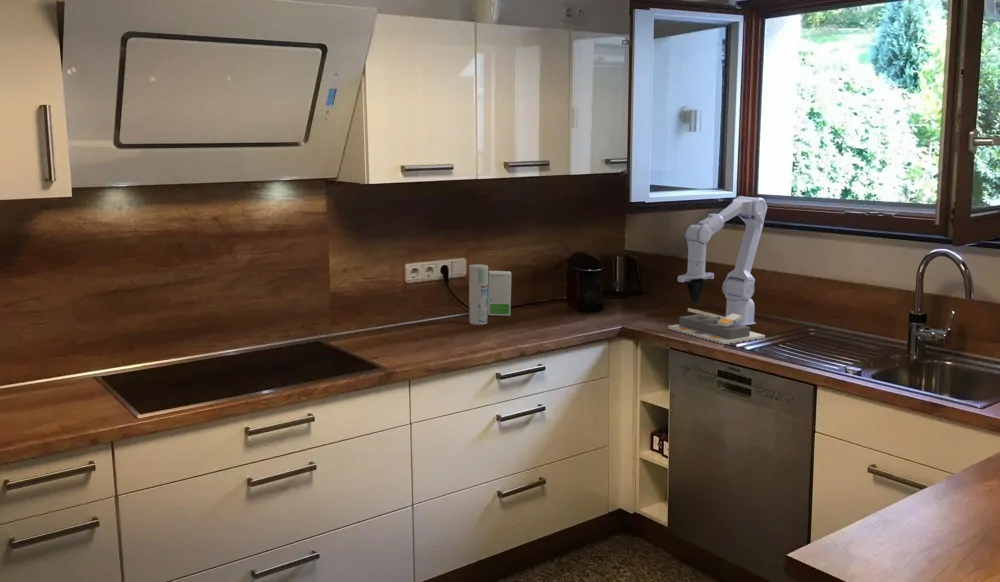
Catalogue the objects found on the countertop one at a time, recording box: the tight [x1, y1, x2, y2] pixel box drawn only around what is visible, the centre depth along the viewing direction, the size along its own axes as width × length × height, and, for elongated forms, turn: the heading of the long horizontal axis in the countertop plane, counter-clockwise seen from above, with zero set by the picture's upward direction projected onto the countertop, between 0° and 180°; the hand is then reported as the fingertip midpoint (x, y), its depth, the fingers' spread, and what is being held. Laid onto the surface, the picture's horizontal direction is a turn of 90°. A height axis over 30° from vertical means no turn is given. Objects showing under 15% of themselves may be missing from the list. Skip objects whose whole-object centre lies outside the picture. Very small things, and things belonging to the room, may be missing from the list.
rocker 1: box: [687, 307, 704, 315], centre depth 290 cm, size 7×4×1 cm, turn 122°
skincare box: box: [487, 270, 512, 317], centre depth 313 cm, size 8×7×16 cm
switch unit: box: [667, 313, 766, 345], centre depth 286 cm, size 18×26×4 cm
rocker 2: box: [702, 311, 726, 320], centre depth 284 cm, size 7×4×1 cm, turn 122°
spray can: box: [468, 263, 489, 326], centre depth 298 cm, size 6×6×20 cm
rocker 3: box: [717, 313, 742, 327], centre depth 278 cm, size 7×4×1 cm, turn 120°
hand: (694, 301), depth 288 cm, fingers closed
